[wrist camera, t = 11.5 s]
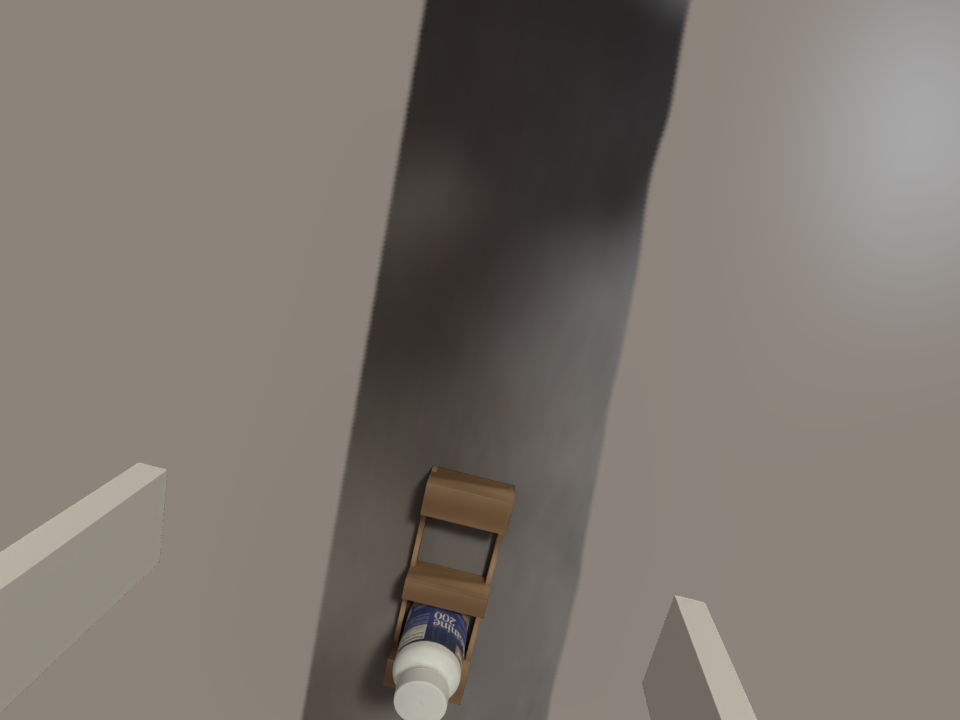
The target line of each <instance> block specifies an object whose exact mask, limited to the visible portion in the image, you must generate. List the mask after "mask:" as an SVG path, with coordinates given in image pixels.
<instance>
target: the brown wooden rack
mask: <svg viewBox="0 0 960 720" xmlns="http://www.w3.org/2000/svg"><path fill="white" fill-rule="evenodd" d="M514 497H515V486H513V485H509V484H505V483H501V482H497V481H493V480H489V479H485V478H481V477H477V476H472V475H468V474H464V473H460V472H456V471H452V470H448V469H444V468H440V467H436V466H433V468H432V470H431V473H430V476H429V478H428V481H427V485H426V489H425V494H424V498H423V503H422V507H421V512H420V515H421V519H420V524H419V528H418V533H417V537H416V542H415V546H414V551H413V555H412V560H411V564H410V568H409V571H408V574H407V577H406V580H405V584H404V589H403V593H402V599H403V600H402V605H401V609H400V614H399V618H398V623H397V627H396V632H395V636H394V641H393V644H392V647H391V651H390V654H389V657H388V661H387V665H386V670H385V674H384V679H383V683H382V685H383V686H387V687H391V688H395V689H396V685H395V682H394V679H393V665H394V660H395V657H396V654H397V650H398V647H399V644H400V641H401V637H402V635H400V633H401V628H402V624H403V620H404V615H405V611H406V606H407V602H408V600H410V601H414V602H418V603H422V604H426V605H430V606H434V607H438V608H442V609H446V610H450V611H454V612H458V613H462V614H466V615H470V616H474V617H475V621H474V625H473V628H472V632H471V636H470V640H469V643H468V647H467V651H466V652H465V651H464V659H463V665H462V673H461V679H460V683H459V686H458V688H457V690H456V691H455V693H454V694H453V695H452V696H451V697H450V698H449V699H448V702H450V703H454V704H458V705H460V703H461V700H462V696H463V692H464V688H465V685H466V681H467V676H468V669H469V661H470V657H471V654H472V650H473V646H474V642H475V639H476V635H477V631H478V627H479V624H480V620H481V618H482V619H483V618H484V614H485V610H486V607H487V603H488V597H489V587H490V582H491V579H492V575H493V571H494V567H495V564H496V560H497V556H498V553H499V549H500V545H501V541H502V538H503V535H505V536H506V532H507V528H508V525H509V521H510V517H511V513H512V510H513V506H514ZM427 516H429V517H433V518H437V519H441V520H445V521H449V522H453V523H457V524H461V525H465V526H469V527H473V528H477V529H481V530H485V531H489V532H493V533H497V537H496V541H495V545H494V549H493V553H492V556H491V560H490V564H489V568H488V571H487V575H486V577H483V576H479V575H475V574H471V573H467V572H463V571H459V570H455V569H451V568H447V567H443V566H439V565H435V564H431V563H427V562H423V561H419V560H417V557H418V553H419V549H420V544H421V540H422V535H423V531H424V526H425V522H426V518H427Z"/></svg>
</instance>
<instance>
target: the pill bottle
mask: <svg viewBox="0 0 960 720" xmlns="http://www.w3.org/2000/svg"><path fill="white" fill-rule="evenodd" d="M468 621H469V620H468V615H466V614H462V613H458V612H454V611H450V610H446V609H442V608H438V607H434V606H430V605H426V604H422V603H418V602H414V603H413V604H412V606H411V608H410V611H409V614H408V617H407V621H406V624H405V627H404V631H403V634H402V637H401V641H400V644H399V647H398V650H397V654H396V657H395V660H394V665H393V679H394V682H395V685H396V690H395V694H394V707H395V709H396V711H397V713H398V714H399V715H400V716H401V717H402V718H403V719H404V720H440V719H441V718H442V717H443V715H444V714H445V712H446V708H447V704H448V699H449V698H450V697H451V696H452V695H453V694H454V693H455V691H456V690H457V688H458V686H459V683H460V679H461V673H462V665H463V659H464V651H465V645H466V637H467V630H468Z"/></svg>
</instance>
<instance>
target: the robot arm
mask: <svg viewBox="0 0 960 720" xmlns="http://www.w3.org/2000/svg"><path fill="white" fill-rule="evenodd" d="M167 472H168V470H167V469H164V468H160V467H155V466H151V465H147V464H143V463H137V464H136V465H134V466H132V467H131V468H129V469H128V470H126V471H125V472H123V473H122V474H120V475H118V476H117V477H115V478H114V479H112V480H111V481H109V482H108V483H106V484H105V485H103V486H102V487H100V488H98V489H97V490H95V491H94V492H92V493H91V494H89V495H88V496H86V497H84V498H83V499H81V500H80V501H78V502H77V503H75V504H74V505H72V506H71V507H69V508H67V509H66V510H64V511H63V512H61V513H60V514H58V515H57V516H55V517H54V518H52V519H51V520H49V521H47V522H46V523H44V524H43V525H41V526H40V527H38V528H37V529H35V530H33V531H32V532H30V533H29V534H27V535H26V536H24V537H23V538H21V539H20V540H18V541H16V542H15V543H13V544H12V545H10V546H9V547H7V548H6V549H4V550H3V551H1V552H0V713H1V712H2V711H3V710H4V709H5V708H6V707H7V706H8V705H9V704H11V703H12V701H14V700H15V699H16V698H17V697H18V696H19V695H20V694H21V693H22V692H23V691H24V690H25V689H26V688H27V687H28V686H30V685H31V683H33V682H34V681H35V680H36V679H37V678H38V677H39V676H40V675H41V674H42V673H43V672H44V671H45V670H46V669H47V668H48V667H49V666H50V665H52V664H53V662H55V661H56V660H57V659H58V658H59V657H60V656H61V655H62V654H63V653H64V652H65V651H66V650H67V649H68V648H69V647H71V646H72V645H73V644H74V643H75V642H76V641H77V640H78V639H79V638H80V637H81V636H82V635H83V634H84V633H85V632H86V631H87V630H88V629H89V628H90V627H92V626H93V625H94V624H95V623H96V622H97V621H98V620H99V619H100V618H101V617H102V616H103V615H104V614H105V613H106V612H107V611H108V610H109V609H110V608H111V607H113V605H115V604H116V603H117V602H118V601H119V600H120V599H121V598H122V597H123V596H124V595H125V594H126V593H127V592H128V591H129V590H130V589H131V588H132V587H134V586H135V585H136V584H137V583H138V582H139V581H140V580H141V579H142V578H143V577H144V576H145V575H146V574H147V573H148V572H149V571H150V570H151V569H152V568H154V567H155V566H156V565H157V564H158V563H159V560H160V550H161V539H162V528H163V516H164V506H165V494H166V483H167ZM642 684H643V689H644V693H645V697H646V701H647V706H648V710H649V714H650V718H651V720H757V719H756V716H755V714H754V712H753V710H752V707H751V705H750V703H749V701H748V699H747V697H746V694H745V692H744V690H743V687H742V685H741V683H740V681H739V678H738V676H737V674H736V672H735V669H734V667H733V665H732V663H731V660H730V658H729V656H728V654H727V651H726V649H725V647H724V645H723V642H722V640H721V638H720V636H719V633H718V631H717V629H716V627H715V624H714V622H713V620H712V618H711V615H710V613H709V611H708V609H707V606H706V604H705V603H704V602H700V601H697V600H692V599H689V598H684V597H680V596H676V595H675V596H674V598H673V601H672V603H671V606H670V609H669V612H668V614H667V617H666V620H665V623H664V625H663V628H662V631H661V634H660V637H659V639H658V642H657V644H656V647H655V650H654V652H653V655H652V658H651V661H650V663H649V666H648V669H647V672H646V674H645V677H644V680H643V682H642Z"/></svg>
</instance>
